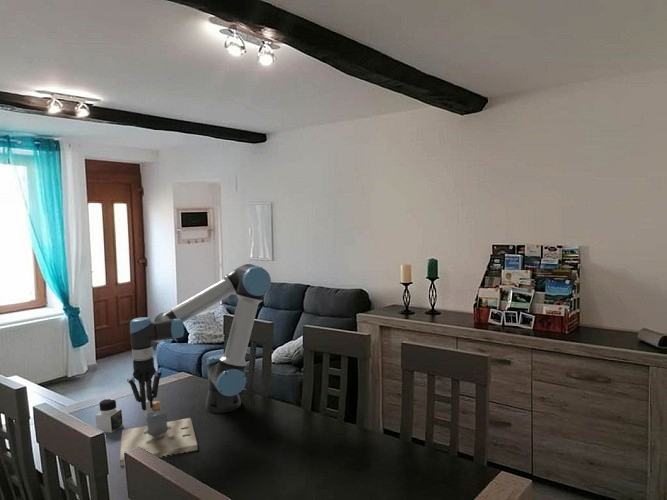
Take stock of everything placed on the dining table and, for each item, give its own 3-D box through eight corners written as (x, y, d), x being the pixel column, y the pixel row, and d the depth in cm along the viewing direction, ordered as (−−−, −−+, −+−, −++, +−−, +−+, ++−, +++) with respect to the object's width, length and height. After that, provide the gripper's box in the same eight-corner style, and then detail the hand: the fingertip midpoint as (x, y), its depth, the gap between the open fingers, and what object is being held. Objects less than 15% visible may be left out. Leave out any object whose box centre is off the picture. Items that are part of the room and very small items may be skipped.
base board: (190, 422, 207) (190, 413, 207) (197, 449, 183) (196, 439, 182) (122, 435, 198) (121, 425, 197) (120, 465, 173) (119, 454, 173)
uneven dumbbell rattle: (169, 416, 203) (168, 398, 203) (171, 432, 188) (170, 413, 188) (143, 420, 200) (142, 403, 199) (144, 437, 185) (142, 418, 184)
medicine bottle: (112, 433, 200) (109, 403, 199) (96, 432, 202) (93, 403, 200) (123, 425, 207) (120, 397, 206) (107, 424, 208) (105, 396, 207)
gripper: (129, 364, 187) (134, 425, 189) (163, 355, 196) (168, 414, 198) (122, 360, 193) (127, 419, 195) (155, 352, 201) (160, 409, 203)
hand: (148, 416), depth 196 cm, fingers closed
